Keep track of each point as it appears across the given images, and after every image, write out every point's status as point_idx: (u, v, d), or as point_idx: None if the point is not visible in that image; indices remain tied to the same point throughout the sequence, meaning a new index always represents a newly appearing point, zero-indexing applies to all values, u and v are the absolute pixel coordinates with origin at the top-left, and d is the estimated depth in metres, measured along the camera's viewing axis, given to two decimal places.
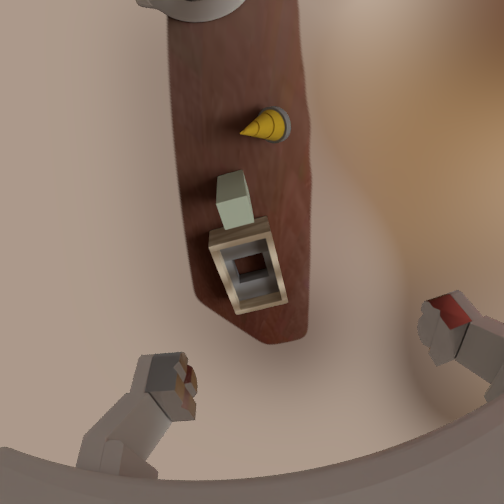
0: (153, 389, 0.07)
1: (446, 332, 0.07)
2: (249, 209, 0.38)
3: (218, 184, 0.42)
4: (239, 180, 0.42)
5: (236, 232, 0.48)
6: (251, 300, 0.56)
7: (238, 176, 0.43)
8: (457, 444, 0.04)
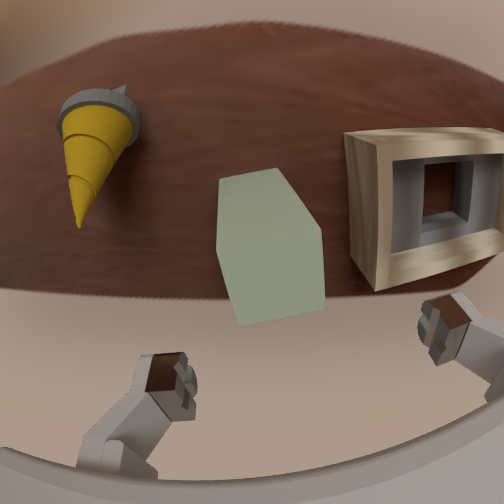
0: (153, 389, 0.07)
1: (446, 332, 0.07)
2: (269, 243, 0.11)
3: None
4: None
5: (364, 217, 0.19)
6: (502, 207, 0.19)
7: None
8: (457, 444, 0.04)
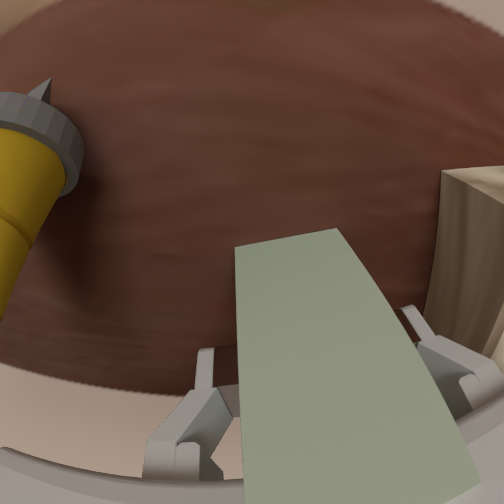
0: (222, 383, 0.07)
1: None
2: None
3: None
4: None
5: (460, 311, 0.10)
6: None
7: None
8: None
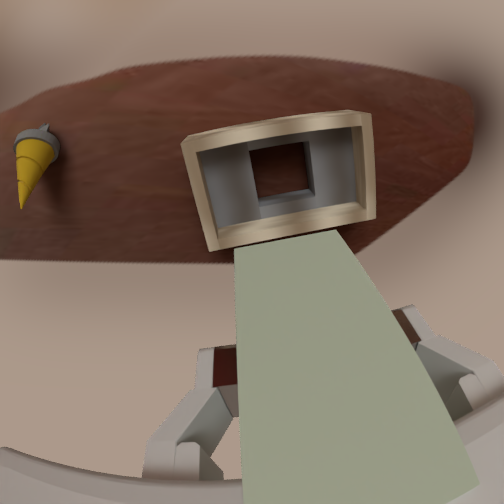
0: (221, 383, 0.07)
1: None
2: None
3: None
4: None
5: None
6: (357, 181, 0.27)
7: None
8: None
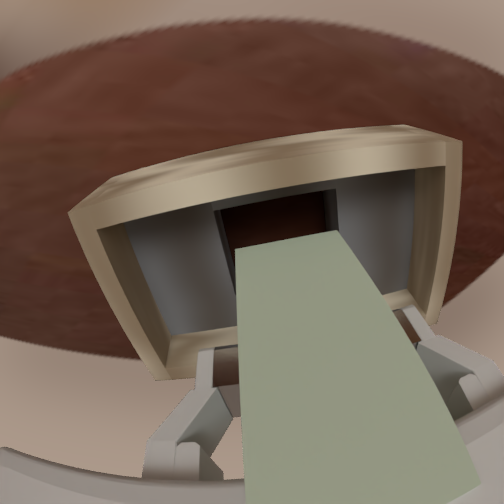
0: (221, 383, 0.07)
1: None
2: None
3: None
4: None
5: None
6: (416, 260, 0.14)
7: None
8: None
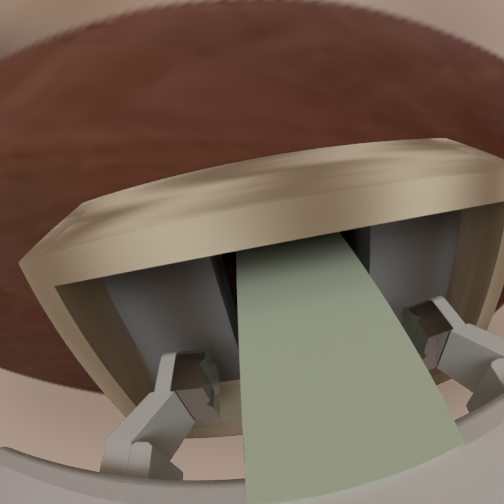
0: (179, 387, 0.07)
1: (425, 340, 0.07)
2: None
3: None
4: None
5: None
6: (453, 304, 0.11)
7: None
8: None
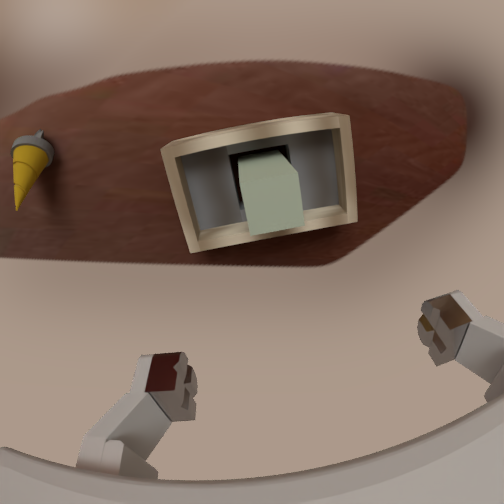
0: (153, 389, 0.07)
1: (446, 332, 0.07)
2: (269, 180, 0.20)
3: None
4: None
5: None
6: (339, 184, 0.27)
7: None
8: (457, 444, 0.04)
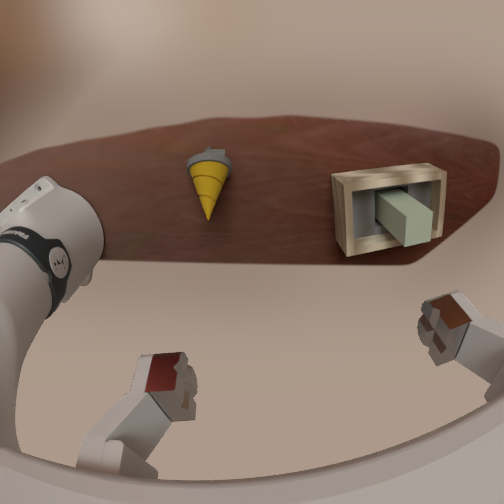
0: (153, 389, 0.07)
1: (446, 332, 0.07)
2: (420, 215, 0.31)
3: (382, 223, 0.38)
4: (385, 204, 0.36)
5: (340, 218, 0.38)
6: None
7: (379, 200, 0.37)
8: (457, 444, 0.04)
